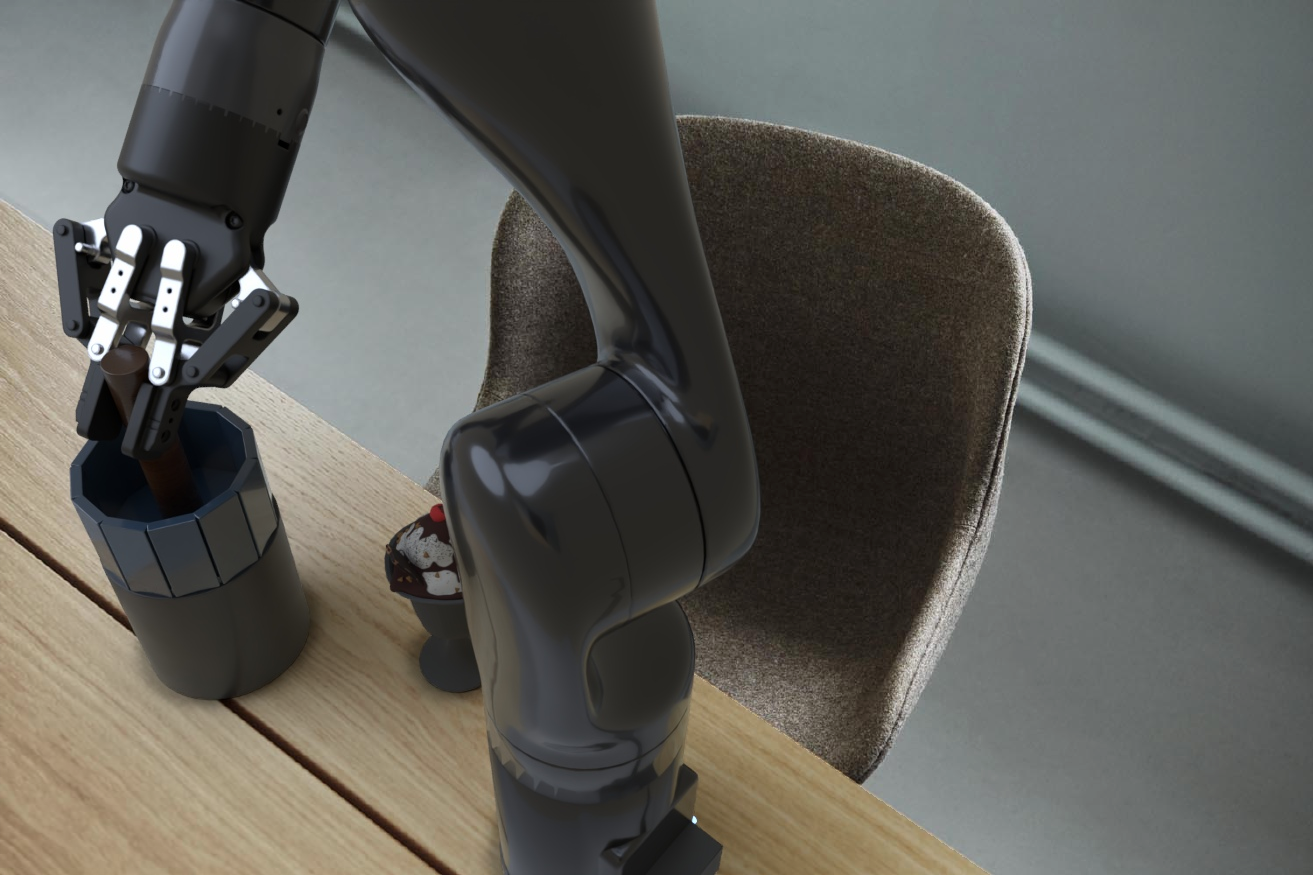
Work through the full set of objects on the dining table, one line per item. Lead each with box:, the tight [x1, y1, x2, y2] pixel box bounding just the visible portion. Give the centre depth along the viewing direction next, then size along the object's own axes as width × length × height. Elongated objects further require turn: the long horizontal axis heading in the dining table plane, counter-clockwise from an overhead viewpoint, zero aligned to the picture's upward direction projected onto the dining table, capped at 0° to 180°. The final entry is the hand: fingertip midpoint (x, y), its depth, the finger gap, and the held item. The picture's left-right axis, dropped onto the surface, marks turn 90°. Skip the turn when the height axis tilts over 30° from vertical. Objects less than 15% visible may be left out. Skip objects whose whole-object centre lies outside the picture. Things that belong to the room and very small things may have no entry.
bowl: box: [68, 399, 278, 598], centre depth 62 cm, size 9×9×6 cm
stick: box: [100, 345, 204, 520], centre depth 59 cm, size 2×2×12 cm
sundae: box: [383, 503, 482, 693], centre depth 65 cm, size 7×7×15 cm
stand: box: [99, 492, 311, 701], centre depth 67 cm, size 10×10×10 cm
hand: (118, 446), depth 56 cm, fingers closed on stick, 2 cm apart
